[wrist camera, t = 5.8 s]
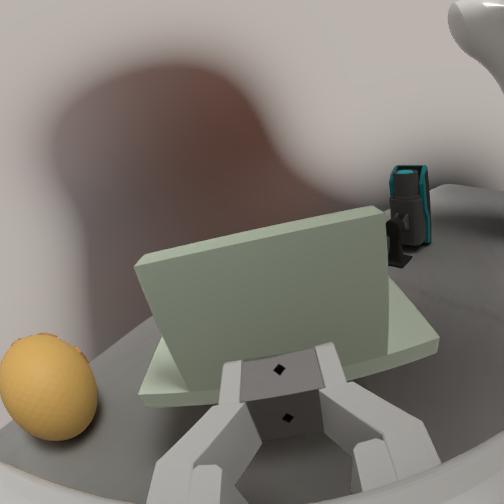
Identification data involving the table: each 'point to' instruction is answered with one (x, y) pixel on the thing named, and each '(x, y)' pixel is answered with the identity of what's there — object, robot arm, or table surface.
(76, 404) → the stress ball
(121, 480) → the table surface
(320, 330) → the lid
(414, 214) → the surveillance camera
